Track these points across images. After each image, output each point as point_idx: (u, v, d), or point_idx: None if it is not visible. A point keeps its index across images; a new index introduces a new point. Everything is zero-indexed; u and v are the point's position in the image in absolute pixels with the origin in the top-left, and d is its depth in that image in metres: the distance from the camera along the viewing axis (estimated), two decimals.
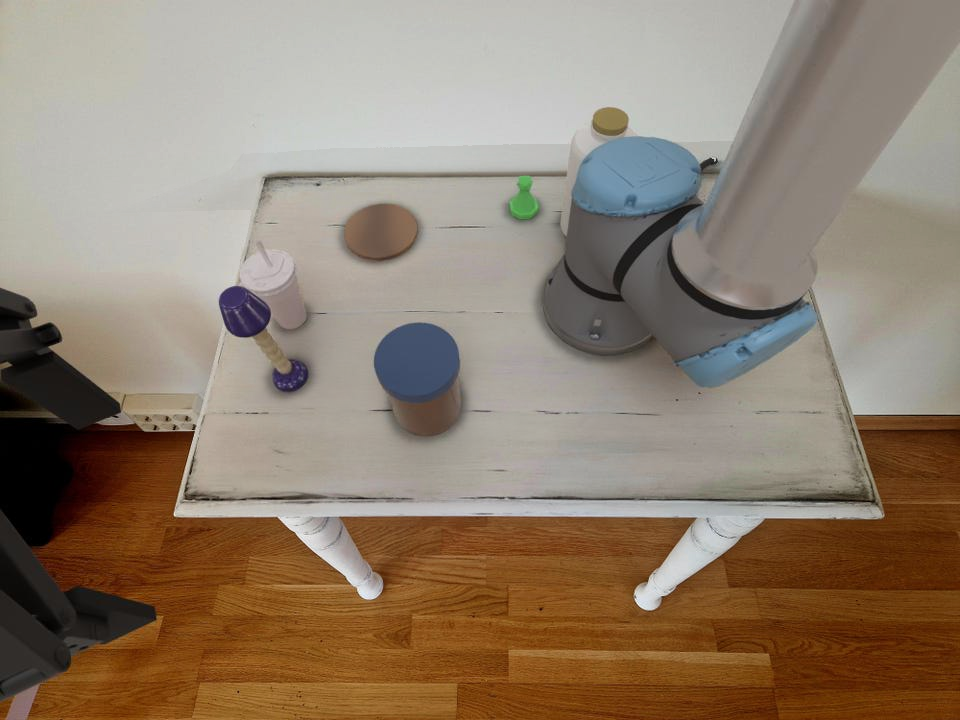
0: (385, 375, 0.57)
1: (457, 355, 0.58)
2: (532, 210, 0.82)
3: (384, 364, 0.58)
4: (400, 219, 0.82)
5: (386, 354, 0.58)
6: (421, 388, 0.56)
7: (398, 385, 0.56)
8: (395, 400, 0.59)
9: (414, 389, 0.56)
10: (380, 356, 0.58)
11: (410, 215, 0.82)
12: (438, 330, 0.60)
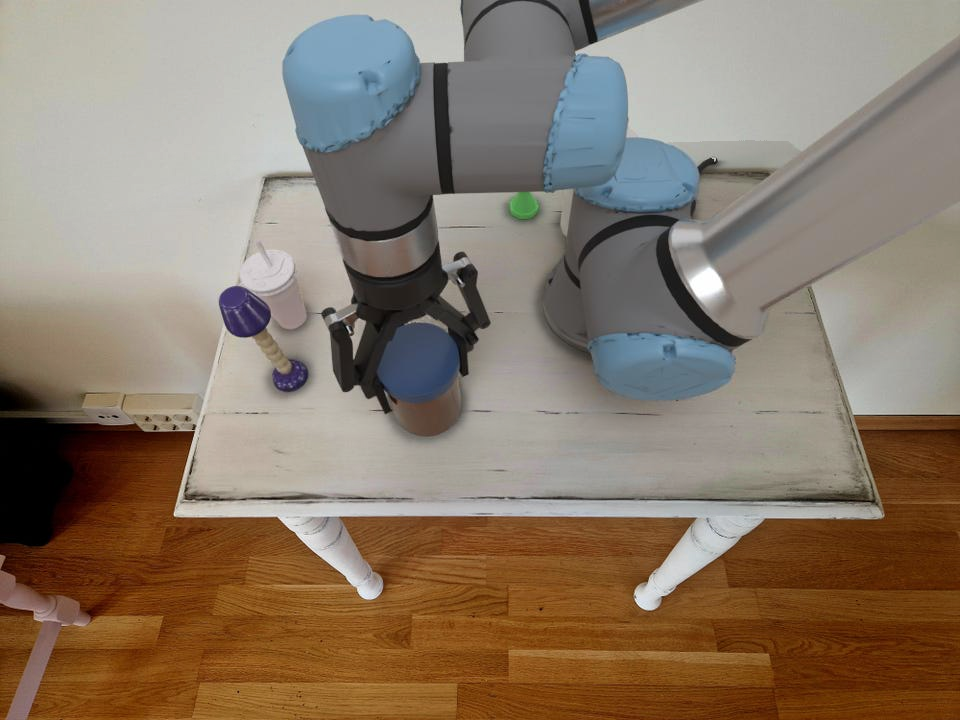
0: (385, 375, 0.57)
1: (457, 355, 0.58)
2: (532, 210, 0.82)
3: (384, 364, 0.58)
4: None
5: (386, 354, 0.58)
6: (421, 388, 0.56)
7: (398, 385, 0.56)
8: (395, 400, 0.59)
9: (414, 389, 0.56)
10: None
11: None
12: (438, 330, 0.60)
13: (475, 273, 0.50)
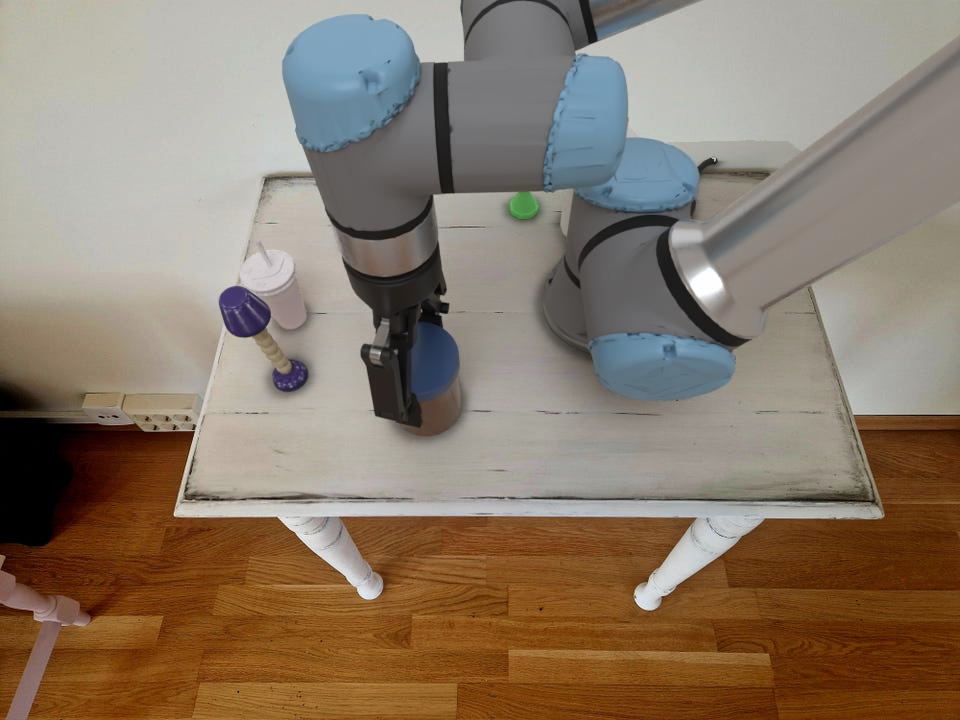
0: None
1: (443, 330, 0.59)
2: (532, 210, 0.82)
3: None
4: None
5: None
6: (446, 372, 0.57)
7: (427, 385, 0.56)
8: None
9: (442, 377, 0.56)
10: None
11: None
12: None
13: None
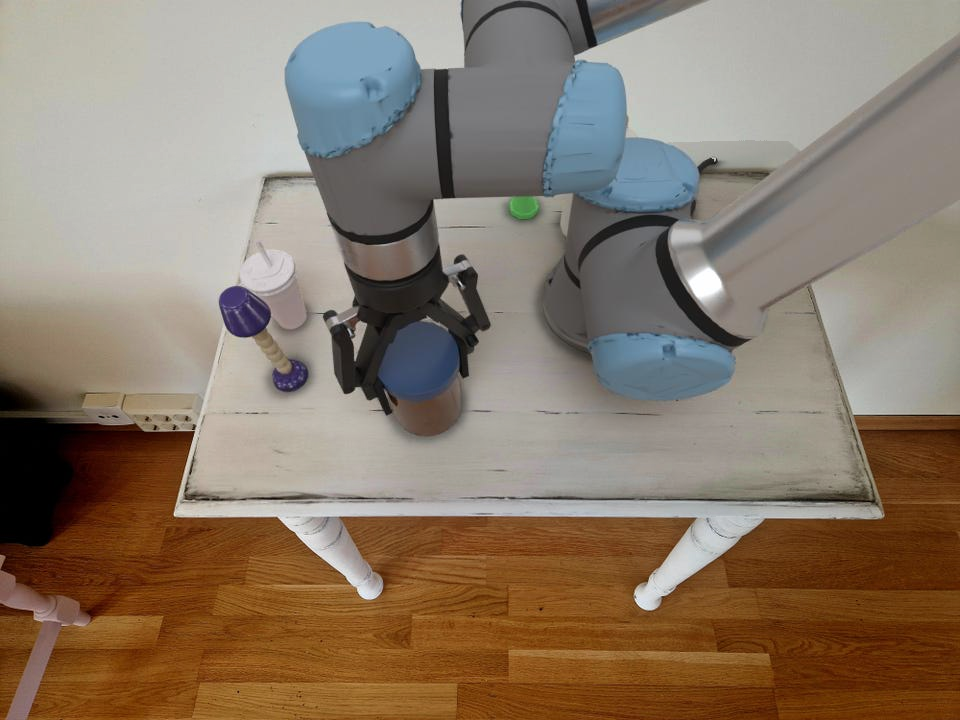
0: (434, 381, 0.56)
1: (416, 322, 0.60)
2: (532, 210, 0.82)
3: (421, 383, 0.56)
4: None
5: (410, 382, 0.56)
6: (451, 349, 0.58)
7: (447, 369, 0.57)
8: (395, 400, 0.59)
9: (452, 355, 0.58)
10: (411, 388, 0.56)
11: None
12: None
13: (475, 276, 0.50)
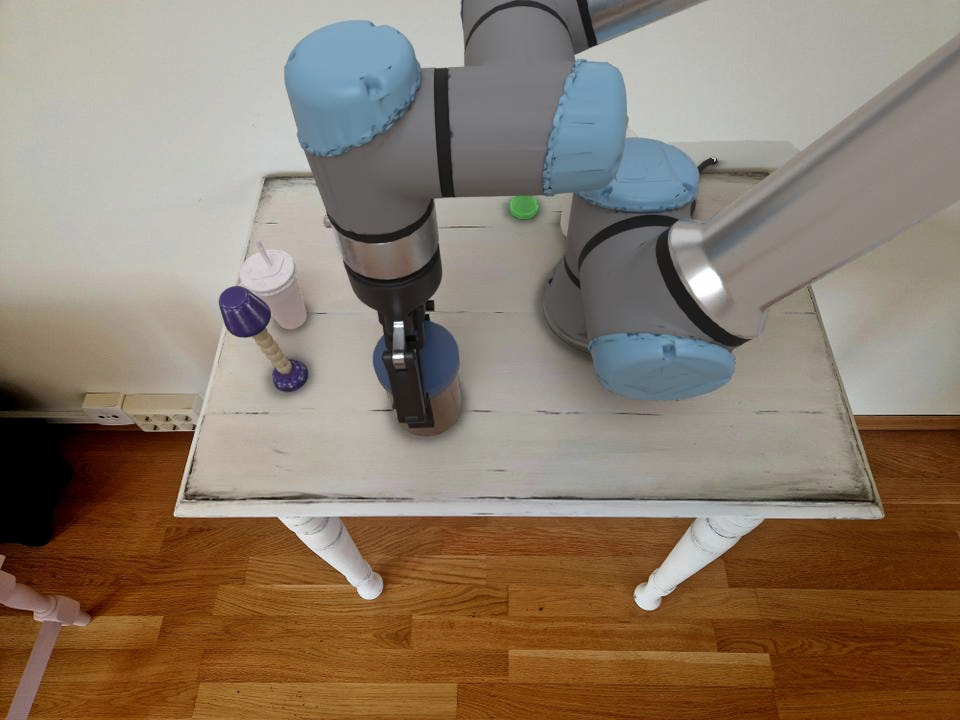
0: (451, 350, 0.58)
1: (379, 341, 0.58)
2: (532, 210, 0.82)
3: (447, 361, 0.57)
4: None
5: (440, 369, 0.57)
6: (427, 326, 0.59)
7: (444, 337, 0.59)
8: None
9: (433, 328, 0.59)
10: (446, 370, 0.56)
11: None
12: (380, 372, 0.57)
13: None
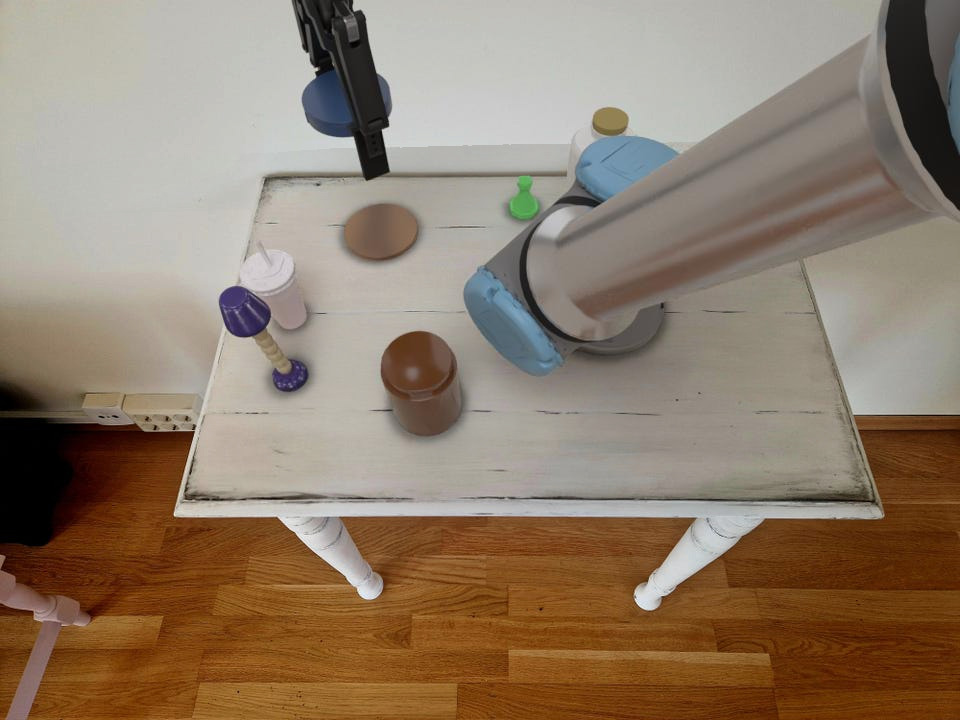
0: None
1: (303, 96, 0.56)
2: (532, 210, 0.82)
3: None
4: (400, 219, 0.82)
5: None
6: None
7: None
8: (395, 400, 0.59)
9: None
10: (382, 94, 0.56)
11: (410, 215, 0.82)
12: (319, 115, 0.55)
13: None
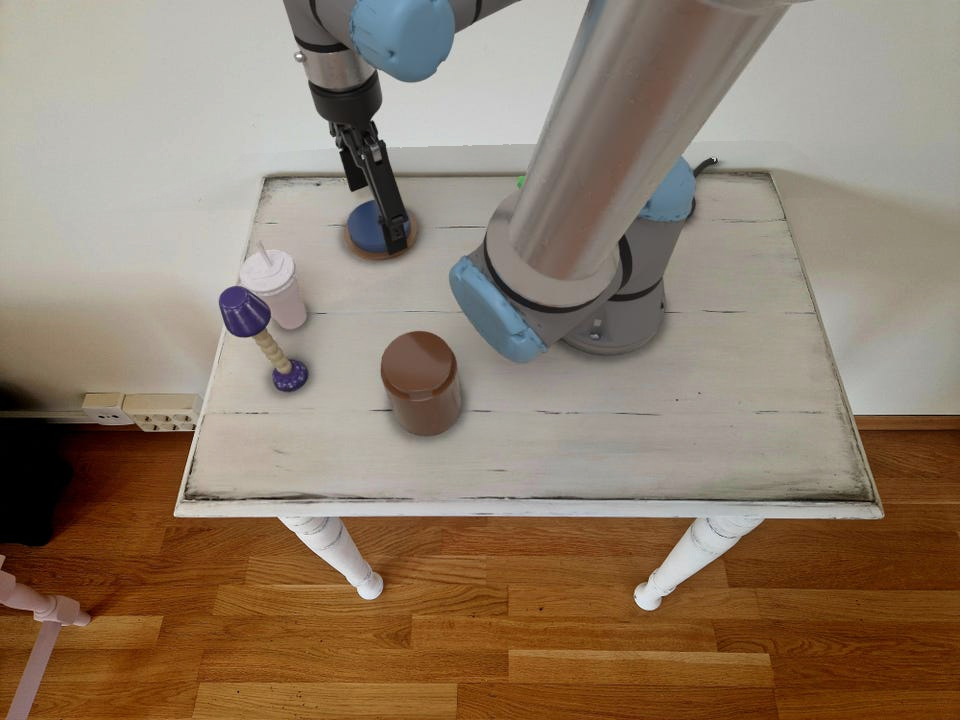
0: None
1: (348, 222, 0.80)
2: None
3: None
4: None
5: None
6: None
7: None
8: (395, 400, 0.59)
9: None
10: None
11: (410, 215, 0.82)
12: (360, 238, 0.78)
13: None
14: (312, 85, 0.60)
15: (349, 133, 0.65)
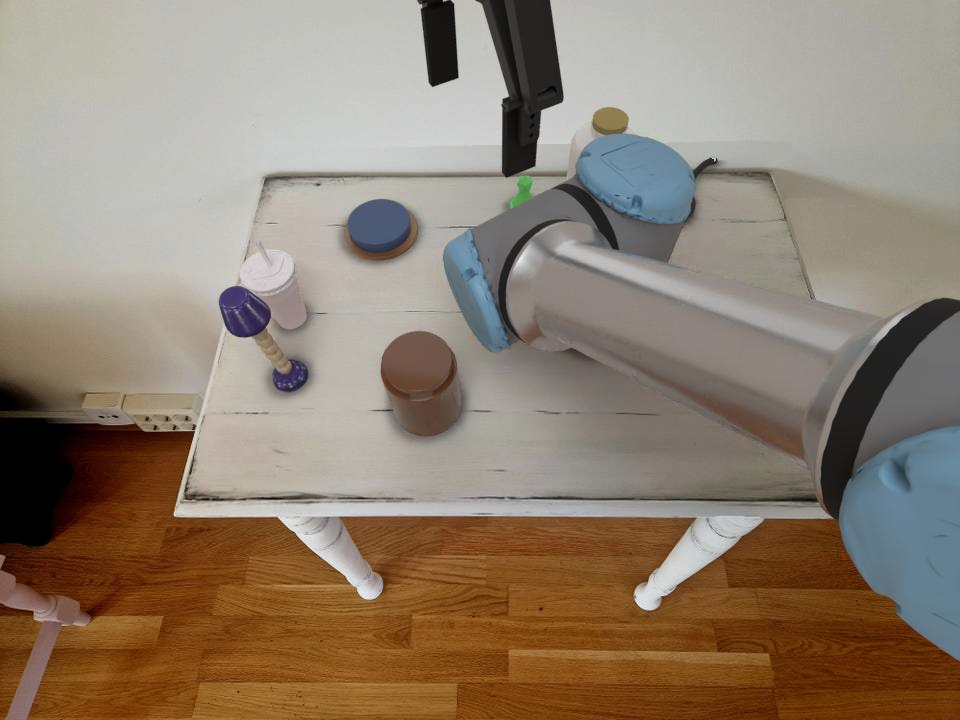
0: (400, 210, 0.81)
1: (348, 222, 0.80)
2: None
3: (401, 216, 0.80)
4: None
5: (400, 222, 0.79)
6: (376, 202, 0.81)
7: (391, 204, 0.81)
8: (395, 400, 0.59)
9: (380, 202, 0.81)
10: (404, 221, 0.79)
11: (410, 215, 0.82)
12: (360, 238, 0.78)
13: None
14: None
15: None
